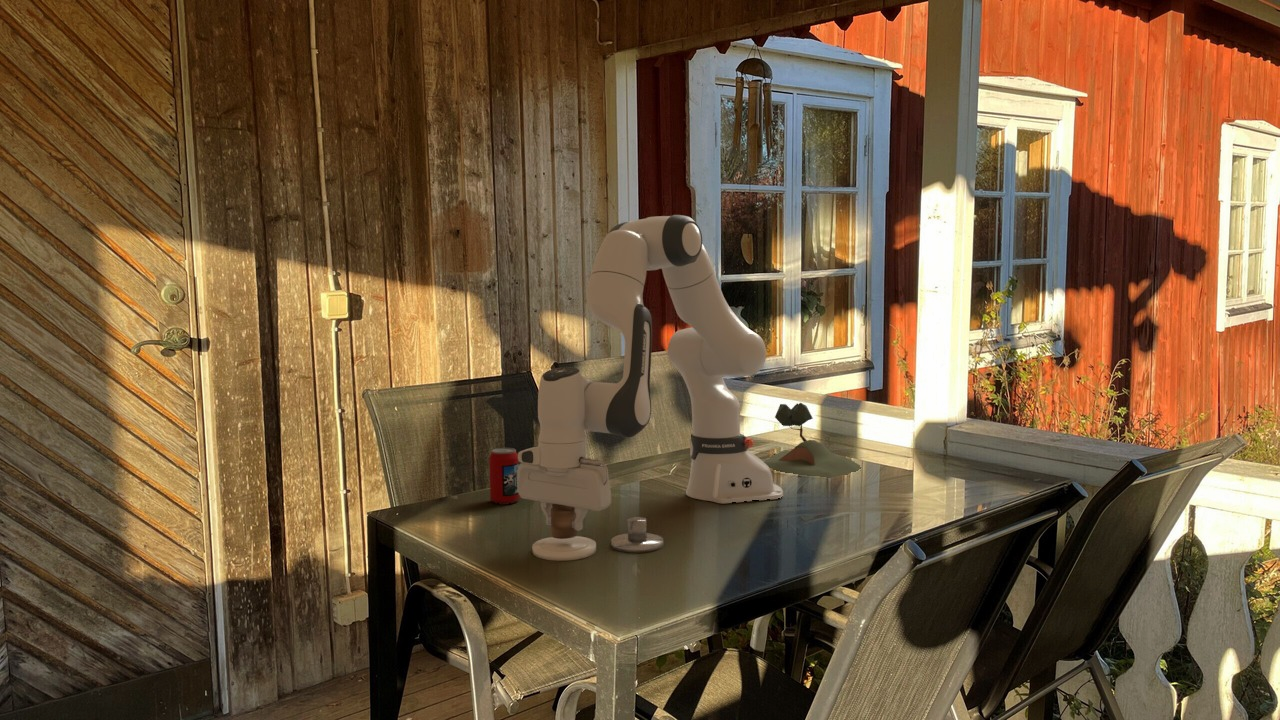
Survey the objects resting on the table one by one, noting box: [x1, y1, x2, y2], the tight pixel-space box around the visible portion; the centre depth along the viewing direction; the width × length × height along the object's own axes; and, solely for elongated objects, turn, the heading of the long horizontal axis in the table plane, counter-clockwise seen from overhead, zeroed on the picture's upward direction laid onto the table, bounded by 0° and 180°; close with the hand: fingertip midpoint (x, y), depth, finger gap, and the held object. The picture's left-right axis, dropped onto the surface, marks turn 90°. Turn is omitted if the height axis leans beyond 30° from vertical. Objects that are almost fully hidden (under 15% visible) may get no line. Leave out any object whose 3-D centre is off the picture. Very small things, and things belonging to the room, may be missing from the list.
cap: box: [550, 504, 578, 539], centre depth 179 cm, size 5×5×6 cm
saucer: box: [532, 535, 597, 562], centre depth 180 cm, size 12×12×1 cm
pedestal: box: [610, 516, 664, 554], centre depth 183 cm, size 10×10×5 cm
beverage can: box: [488, 447, 521, 505], centre depth 218 cm, size 7×7×12 cm
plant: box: [763, 402, 862, 478], centre depth 254 cm, size 29×35×18 cm
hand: (564, 527), depth 180 cm, fingers closed on cap, 5 cm apart
